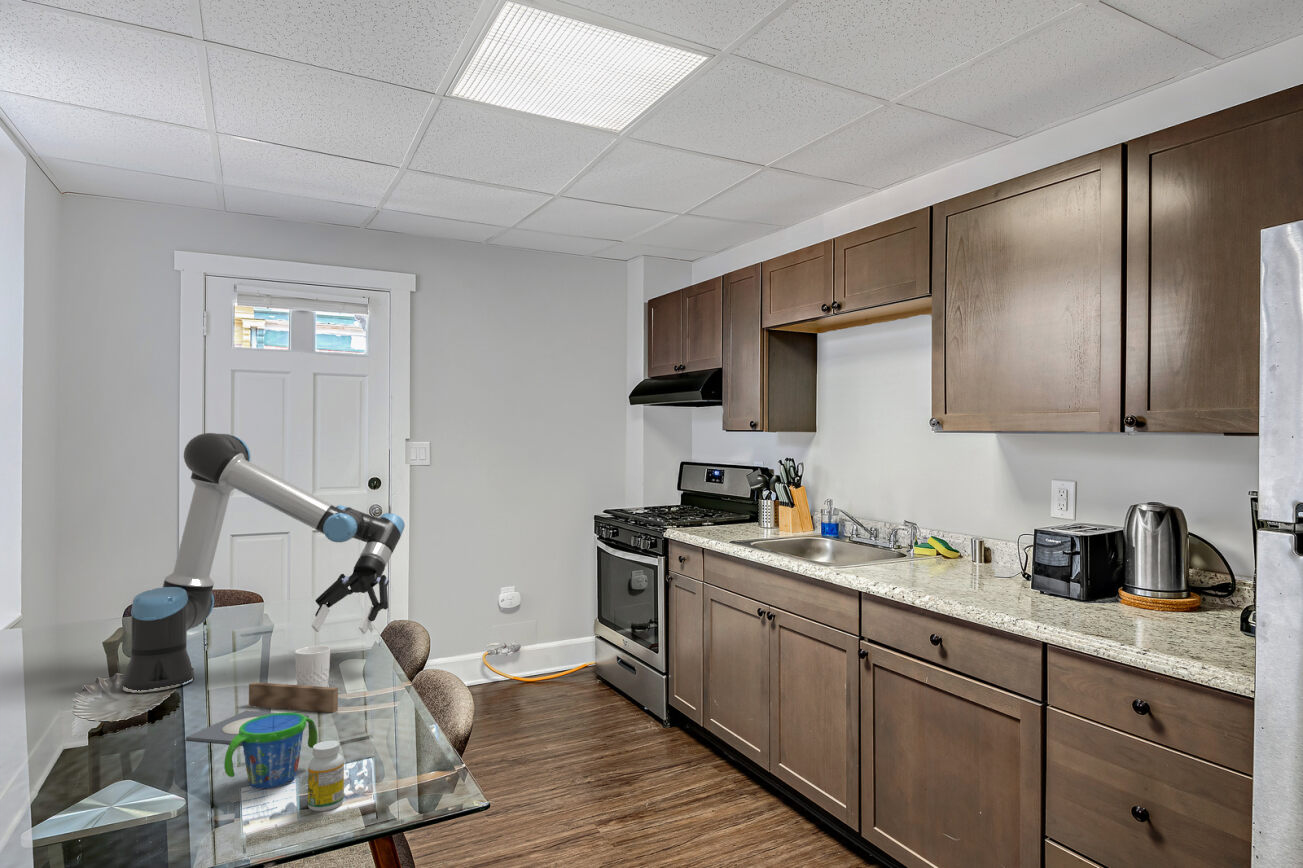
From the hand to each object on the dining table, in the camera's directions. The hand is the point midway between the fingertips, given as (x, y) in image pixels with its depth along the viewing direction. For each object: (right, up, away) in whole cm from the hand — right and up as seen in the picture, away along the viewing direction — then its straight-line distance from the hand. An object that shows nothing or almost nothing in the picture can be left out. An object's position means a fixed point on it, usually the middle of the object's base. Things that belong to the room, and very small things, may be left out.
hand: (338, 630), depth 189 cm
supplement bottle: (+27, -10, -69) cm, 75 cm away
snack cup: (+14, -11, -60) cm, 62 cm away
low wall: (-1, -12, -22) cm, 25 cm away
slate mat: (-4, -12, -34) cm, 36 cm away
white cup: (-3, -13, -9) cm, 16 cm away
